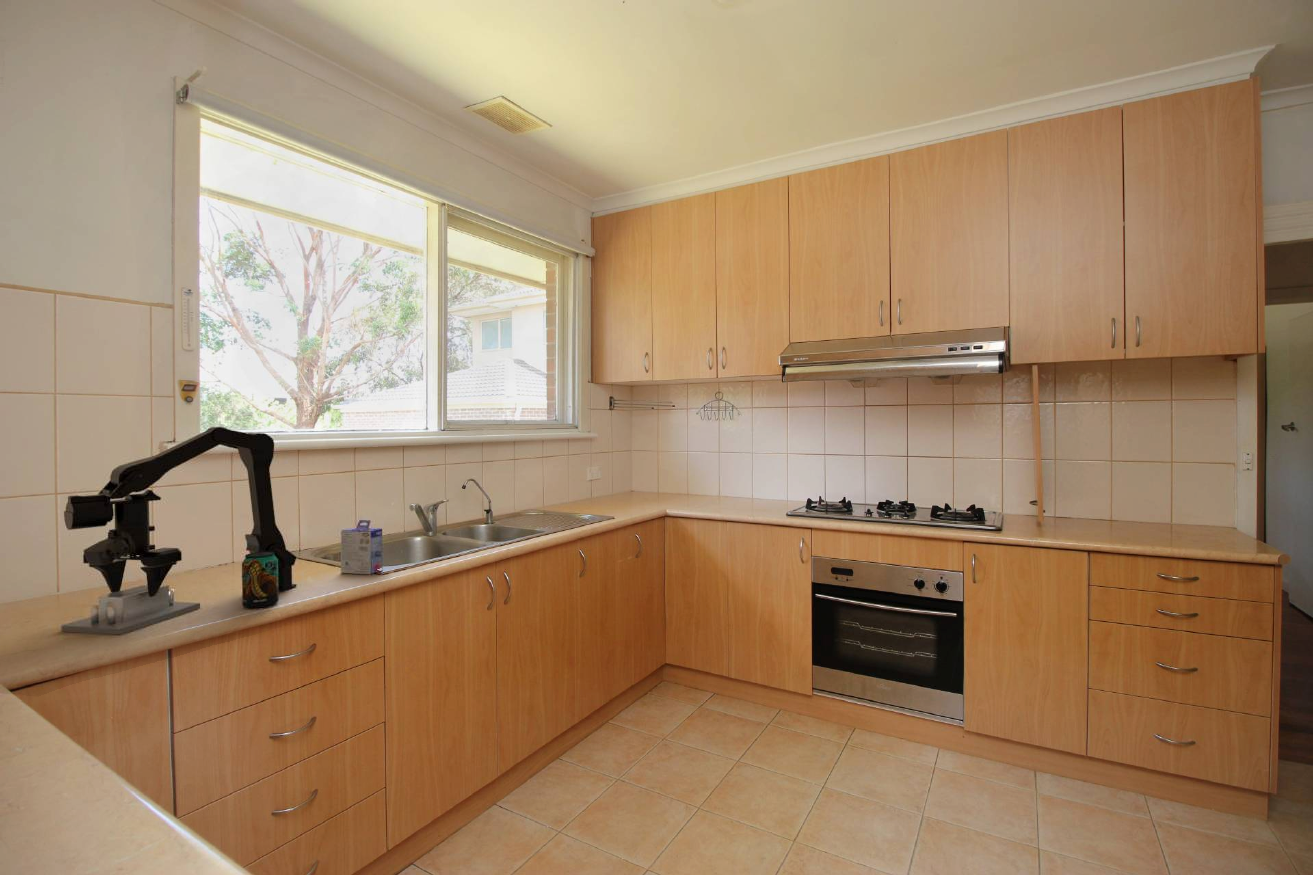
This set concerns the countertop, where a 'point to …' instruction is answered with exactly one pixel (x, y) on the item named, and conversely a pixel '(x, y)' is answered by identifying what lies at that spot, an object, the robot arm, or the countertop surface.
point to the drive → (133, 602)
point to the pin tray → (119, 627)
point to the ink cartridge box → (361, 549)
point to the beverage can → (259, 580)
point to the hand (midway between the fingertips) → (133, 595)
